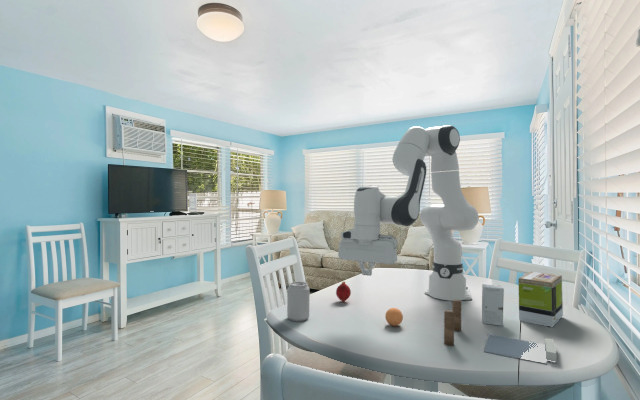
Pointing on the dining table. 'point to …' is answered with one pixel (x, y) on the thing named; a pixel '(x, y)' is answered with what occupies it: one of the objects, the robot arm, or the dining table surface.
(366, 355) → the dining table surface
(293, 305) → the can
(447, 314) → the post
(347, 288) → the onion
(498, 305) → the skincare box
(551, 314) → the tea box
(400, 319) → the ball
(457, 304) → the post
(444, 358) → the dining table surface
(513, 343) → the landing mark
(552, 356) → the stopper wall
